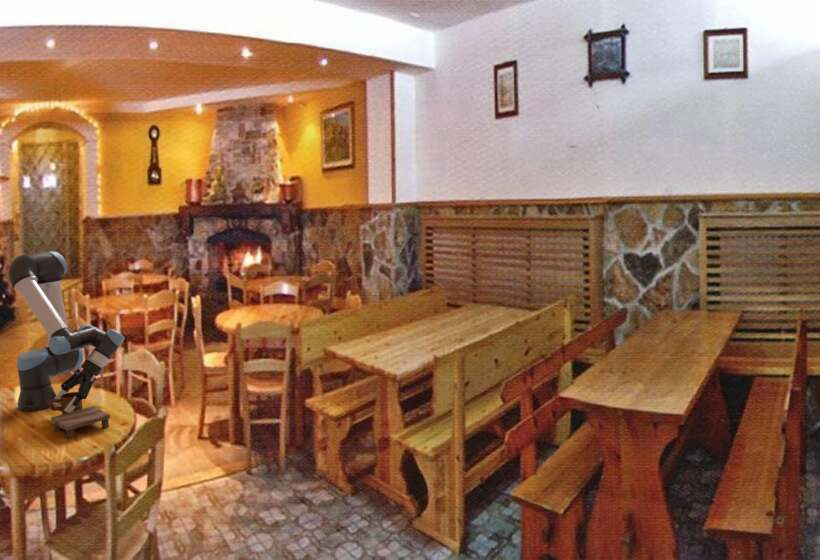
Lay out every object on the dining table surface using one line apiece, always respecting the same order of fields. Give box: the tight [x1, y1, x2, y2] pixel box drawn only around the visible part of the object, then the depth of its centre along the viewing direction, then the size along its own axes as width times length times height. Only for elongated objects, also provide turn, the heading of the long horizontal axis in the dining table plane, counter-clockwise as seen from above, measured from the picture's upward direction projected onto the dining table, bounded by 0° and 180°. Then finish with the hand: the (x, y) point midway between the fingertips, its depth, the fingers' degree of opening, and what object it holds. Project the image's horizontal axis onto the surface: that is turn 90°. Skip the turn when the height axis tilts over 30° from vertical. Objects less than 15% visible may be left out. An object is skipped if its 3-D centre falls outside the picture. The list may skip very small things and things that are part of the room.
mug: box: [48, 391, 84, 415], centre depth 262 cm, size 12×8×9 cm, turn 124°
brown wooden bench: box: [50, 405, 111, 440], centre depth 252 cm, size 15×16×5 cm
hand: (60, 408), depth 261 cm, fingers open, 13 cm apart
